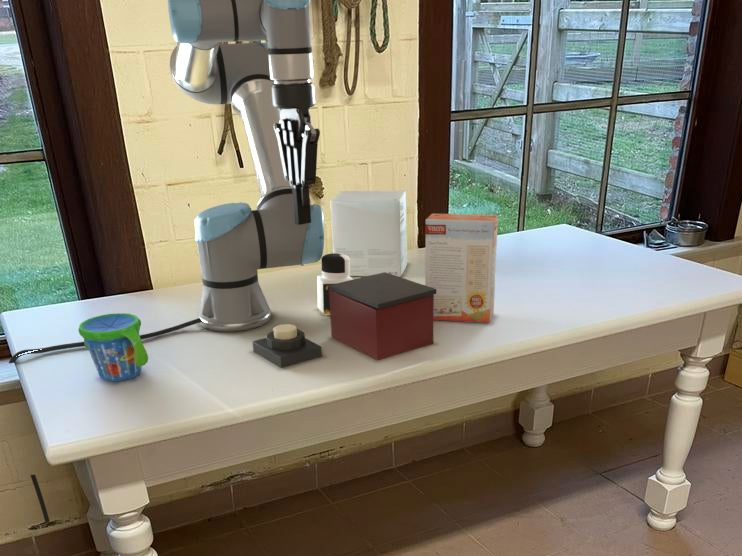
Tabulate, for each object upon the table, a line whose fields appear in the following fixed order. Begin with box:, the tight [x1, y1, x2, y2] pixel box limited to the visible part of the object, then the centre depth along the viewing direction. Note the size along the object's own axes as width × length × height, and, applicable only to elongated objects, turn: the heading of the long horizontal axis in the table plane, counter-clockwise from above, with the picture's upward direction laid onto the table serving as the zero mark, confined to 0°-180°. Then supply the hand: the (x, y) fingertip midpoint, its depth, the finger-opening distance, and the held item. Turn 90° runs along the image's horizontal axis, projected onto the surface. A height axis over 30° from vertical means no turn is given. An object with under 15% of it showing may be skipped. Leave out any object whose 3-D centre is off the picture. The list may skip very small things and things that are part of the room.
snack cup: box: [78, 312, 149, 383], centre depth 144 cm, size 16×10×10 cm
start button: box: [272, 323, 298, 340], centre depth 151 cm, size 4×4×2 cm
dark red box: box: [329, 290, 435, 361], centre depth 156 cm, size 16×14×10 cm
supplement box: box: [329, 189, 408, 278], centre depth 196 cm, size 17×13×18 cm
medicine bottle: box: [316, 253, 354, 316], centre depth 170 cm, size 7×7×12 cm
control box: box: [251, 328, 323, 369], centre depth 152 cm, size 11×9×4 cm
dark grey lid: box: [329, 272, 436, 309], centre depth 152 cm, size 17×14×1 cm
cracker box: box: [424, 213, 499, 324], centre depth 163 cm, size 14×6×21 cm, turn 74°
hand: (303, 222), depth 149 cm, fingers closed
